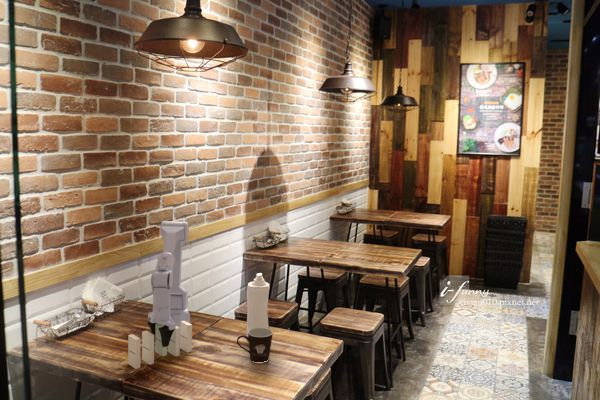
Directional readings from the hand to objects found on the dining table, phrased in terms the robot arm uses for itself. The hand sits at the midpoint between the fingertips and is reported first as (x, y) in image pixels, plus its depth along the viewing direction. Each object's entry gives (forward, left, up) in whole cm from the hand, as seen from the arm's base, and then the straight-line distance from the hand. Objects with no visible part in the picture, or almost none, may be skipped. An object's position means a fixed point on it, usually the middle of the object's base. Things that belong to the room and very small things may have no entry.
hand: (161, 343), depth 177 cm
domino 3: (0, 0, -3) cm, 3 cm away
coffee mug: (-24, +22, -5) cm, 33 cm away
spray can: (-37, +8, -5) cm, 38 cm away
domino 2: (+5, 0, -5) cm, 7 cm away
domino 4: (-5, 0, -5) cm, 7 cm away
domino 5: (-10, 0, -5) cm, 11 cm away
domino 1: (+10, 0, -5) cm, 11 cm away
